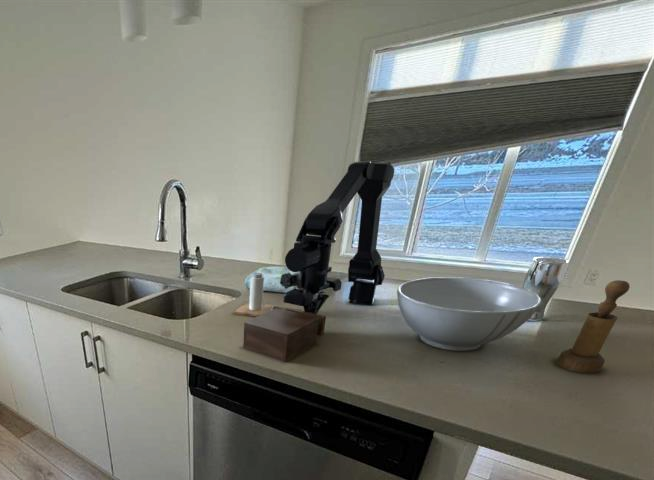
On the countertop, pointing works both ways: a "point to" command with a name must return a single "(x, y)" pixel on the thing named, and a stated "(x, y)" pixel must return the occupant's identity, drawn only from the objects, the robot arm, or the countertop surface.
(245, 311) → the cork mat
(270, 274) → the towel
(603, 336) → the mortar and pestle
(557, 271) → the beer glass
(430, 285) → the decorative bowl
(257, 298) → the salt mill
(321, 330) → the drawer
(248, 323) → the cabinet
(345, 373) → the countertop surface
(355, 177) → the robot arm
